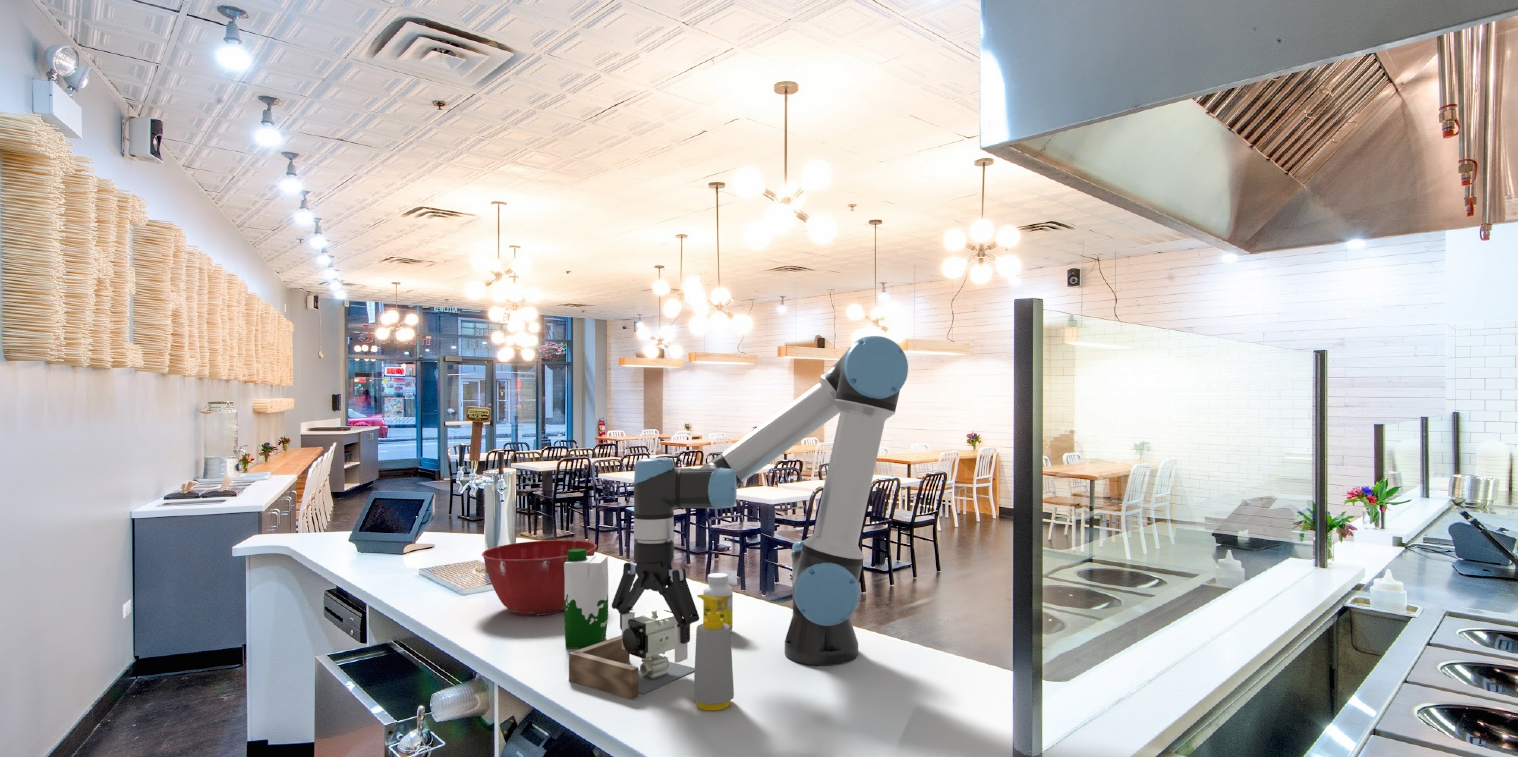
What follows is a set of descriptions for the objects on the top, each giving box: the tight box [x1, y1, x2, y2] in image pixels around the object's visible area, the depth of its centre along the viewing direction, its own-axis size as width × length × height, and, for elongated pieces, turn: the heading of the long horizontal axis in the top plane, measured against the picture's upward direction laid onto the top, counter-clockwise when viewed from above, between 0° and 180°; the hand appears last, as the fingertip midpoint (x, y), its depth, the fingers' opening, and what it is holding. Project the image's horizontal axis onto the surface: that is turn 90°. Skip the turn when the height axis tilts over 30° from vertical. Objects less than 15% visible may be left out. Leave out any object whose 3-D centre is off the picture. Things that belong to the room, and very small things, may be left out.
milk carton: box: [563, 548, 609, 649], centre depth 157 cm, size 9×9×20 cm
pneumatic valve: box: [622, 609, 678, 680], centre depth 136 cm, size 6×12×12 cm, turn 137°
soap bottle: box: [693, 594, 735, 712], centre depth 123 cm, size 7×7×18 cm
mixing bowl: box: [481, 539, 598, 616], centre depth 186 cm, size 28×28×16 cm
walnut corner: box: [568, 634, 640, 700], centre depth 136 cm, size 16×14×5 cm
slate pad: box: [638, 661, 695, 695], centre depth 136 cm, size 9×15×1 cm, turn 145°
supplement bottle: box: [702, 572, 734, 633], centre depth 164 cm, size 7×7×13 cm
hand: (653, 653), depth 136 cm, fingers open, 13 cm apart
